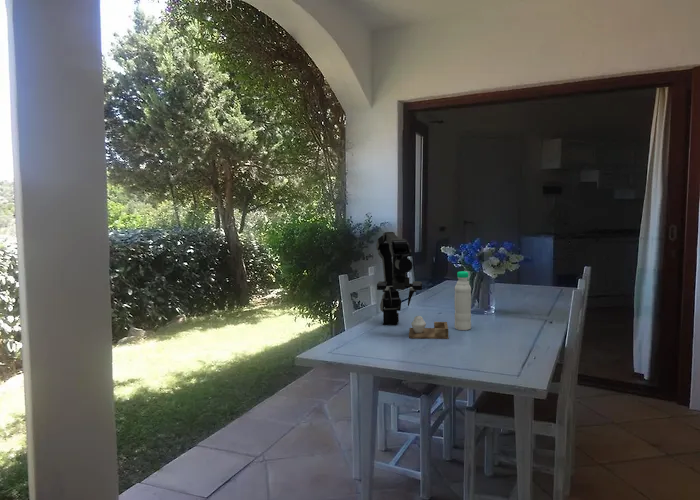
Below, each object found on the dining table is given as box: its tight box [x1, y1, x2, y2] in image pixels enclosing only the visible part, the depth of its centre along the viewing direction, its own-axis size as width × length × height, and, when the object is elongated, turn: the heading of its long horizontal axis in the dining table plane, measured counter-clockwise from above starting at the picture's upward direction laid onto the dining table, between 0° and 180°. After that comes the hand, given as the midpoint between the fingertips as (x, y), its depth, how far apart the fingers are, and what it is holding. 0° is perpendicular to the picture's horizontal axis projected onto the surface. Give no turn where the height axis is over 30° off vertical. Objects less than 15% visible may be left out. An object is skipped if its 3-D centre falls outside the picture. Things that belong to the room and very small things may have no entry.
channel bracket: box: [408, 321, 449, 340], centre depth 206 cm, size 16×14×4 cm
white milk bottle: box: [454, 270, 472, 331], centre depth 212 cm, size 7×7×25 cm
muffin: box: [411, 315, 427, 333], centre depth 206 cm, size 6×6×7 cm
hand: (399, 305), depth 206 cm, fingers open, 7 cm apart
